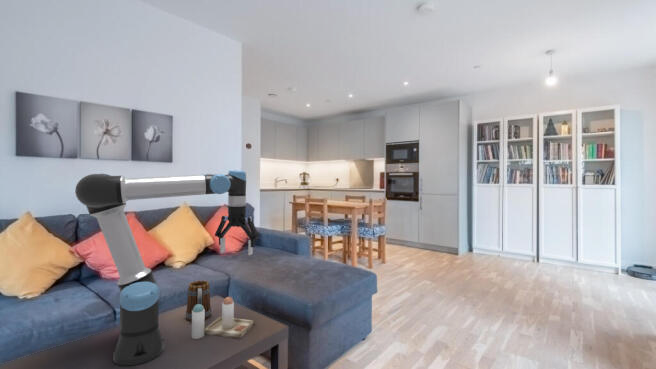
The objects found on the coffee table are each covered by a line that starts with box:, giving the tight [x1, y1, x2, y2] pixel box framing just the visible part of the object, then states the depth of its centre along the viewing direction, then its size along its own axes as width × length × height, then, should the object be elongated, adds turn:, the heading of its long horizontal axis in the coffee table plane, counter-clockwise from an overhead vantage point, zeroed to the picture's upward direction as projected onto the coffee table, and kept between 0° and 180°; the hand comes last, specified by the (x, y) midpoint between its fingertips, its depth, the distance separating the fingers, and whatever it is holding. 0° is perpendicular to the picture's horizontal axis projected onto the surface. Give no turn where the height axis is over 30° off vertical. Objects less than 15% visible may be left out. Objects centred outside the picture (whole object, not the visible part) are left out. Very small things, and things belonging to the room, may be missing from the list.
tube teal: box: [191, 304, 206, 340], centre depth 122 cm, size 5×5×12 cm
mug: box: [185, 279, 212, 322], centre depth 137 cm, size 16×11×15 cm
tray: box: [204, 316, 256, 340], centre depth 128 cm, size 16×12×2 cm
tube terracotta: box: [221, 296, 235, 330], centre depth 128 cm, size 5×5×12 cm
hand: (236, 253), depth 138 cm, fingers open, 13 cm apart
